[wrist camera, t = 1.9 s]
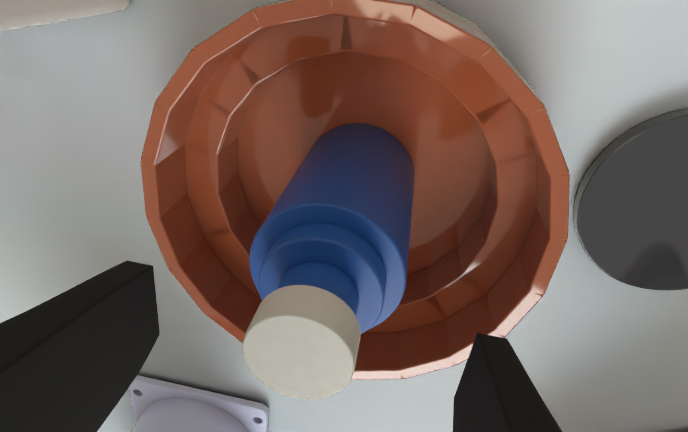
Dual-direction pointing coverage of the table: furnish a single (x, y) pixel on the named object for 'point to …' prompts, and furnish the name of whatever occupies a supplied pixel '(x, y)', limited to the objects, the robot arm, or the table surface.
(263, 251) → the bottle
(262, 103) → the bowl
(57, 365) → the robot arm
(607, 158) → the coaster
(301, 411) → the table surface
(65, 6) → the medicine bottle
